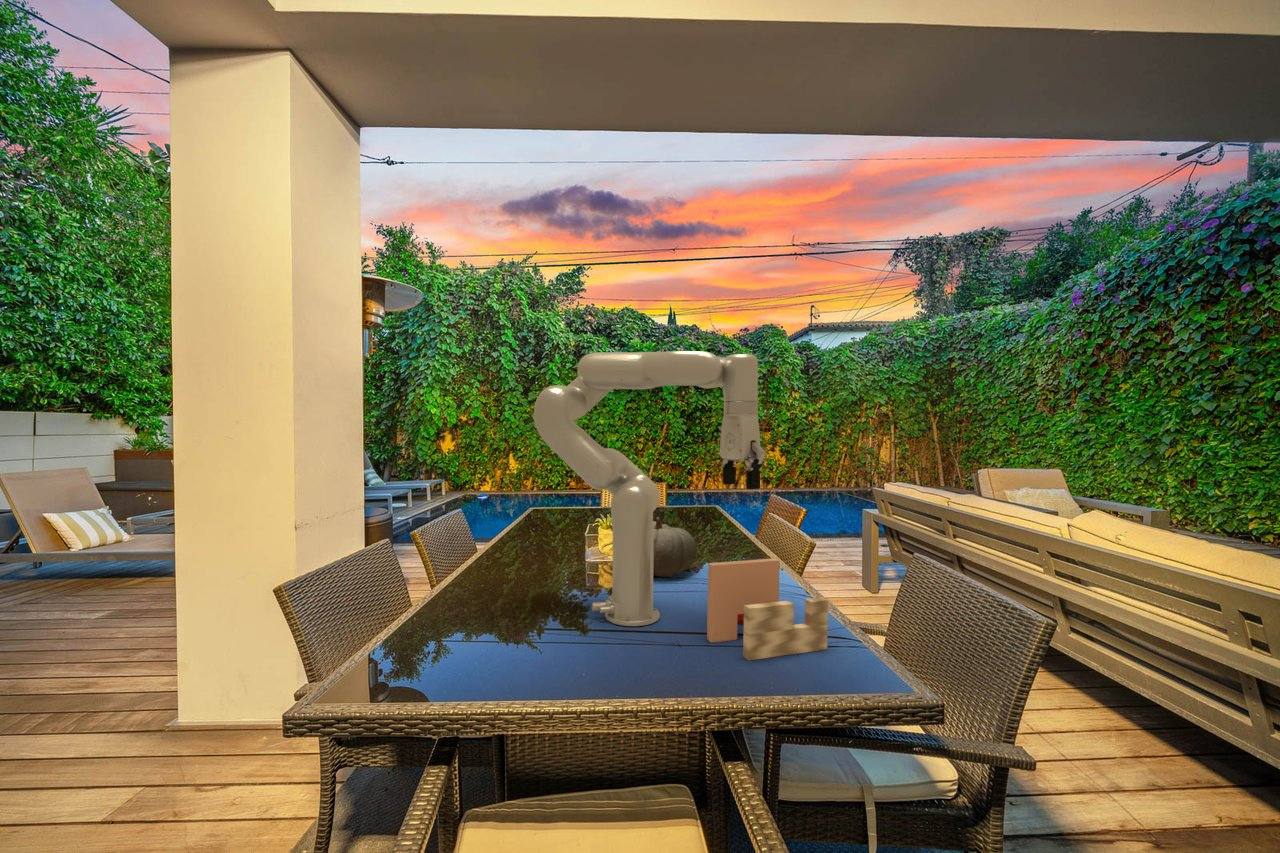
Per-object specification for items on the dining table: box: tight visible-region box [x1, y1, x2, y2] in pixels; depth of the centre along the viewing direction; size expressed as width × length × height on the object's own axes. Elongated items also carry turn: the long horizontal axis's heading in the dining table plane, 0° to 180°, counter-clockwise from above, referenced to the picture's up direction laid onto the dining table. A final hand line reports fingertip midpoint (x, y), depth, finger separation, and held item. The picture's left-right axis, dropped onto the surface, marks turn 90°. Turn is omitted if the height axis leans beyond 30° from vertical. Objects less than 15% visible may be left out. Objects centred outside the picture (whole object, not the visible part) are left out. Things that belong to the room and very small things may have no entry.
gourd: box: [653, 516, 698, 578], centre depth 173 cm, size 25×25×17 cm
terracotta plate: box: [706, 557, 780, 643], centre depth 122 cm, size 2×16×16 cm, turn 109°
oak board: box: [742, 596, 829, 661], centre depth 113 cm, size 18×2×10 cm, turn 109°
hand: (740, 486), depth 128 cm, fingers open, 9 cm apart
